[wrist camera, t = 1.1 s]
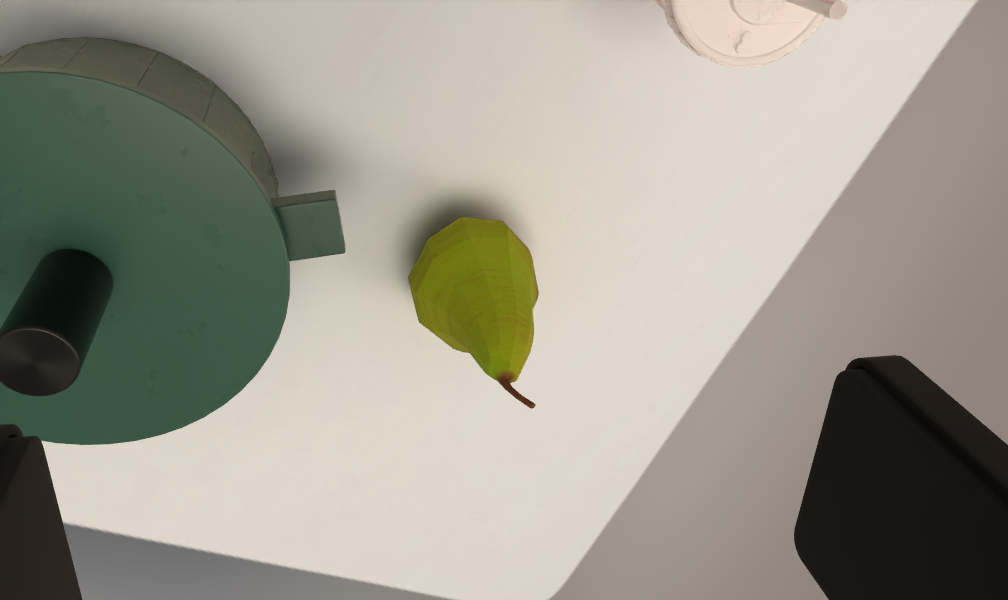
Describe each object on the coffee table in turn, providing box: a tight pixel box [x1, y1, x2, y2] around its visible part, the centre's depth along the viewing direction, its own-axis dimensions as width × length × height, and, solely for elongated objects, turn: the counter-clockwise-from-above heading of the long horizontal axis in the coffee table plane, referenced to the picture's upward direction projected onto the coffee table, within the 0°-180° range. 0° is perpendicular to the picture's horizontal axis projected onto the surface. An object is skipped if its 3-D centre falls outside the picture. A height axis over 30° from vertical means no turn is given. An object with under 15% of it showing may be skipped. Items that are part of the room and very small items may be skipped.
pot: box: [0, 38, 345, 261], centre depth 34 cm, size 14×19×7 cm
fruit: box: [408, 217, 539, 408], centre depth 37 cm, size 6×6×12 cm
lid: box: [0, 67, 290, 445], centre depth 29 cm, size 15×15×7 cm
